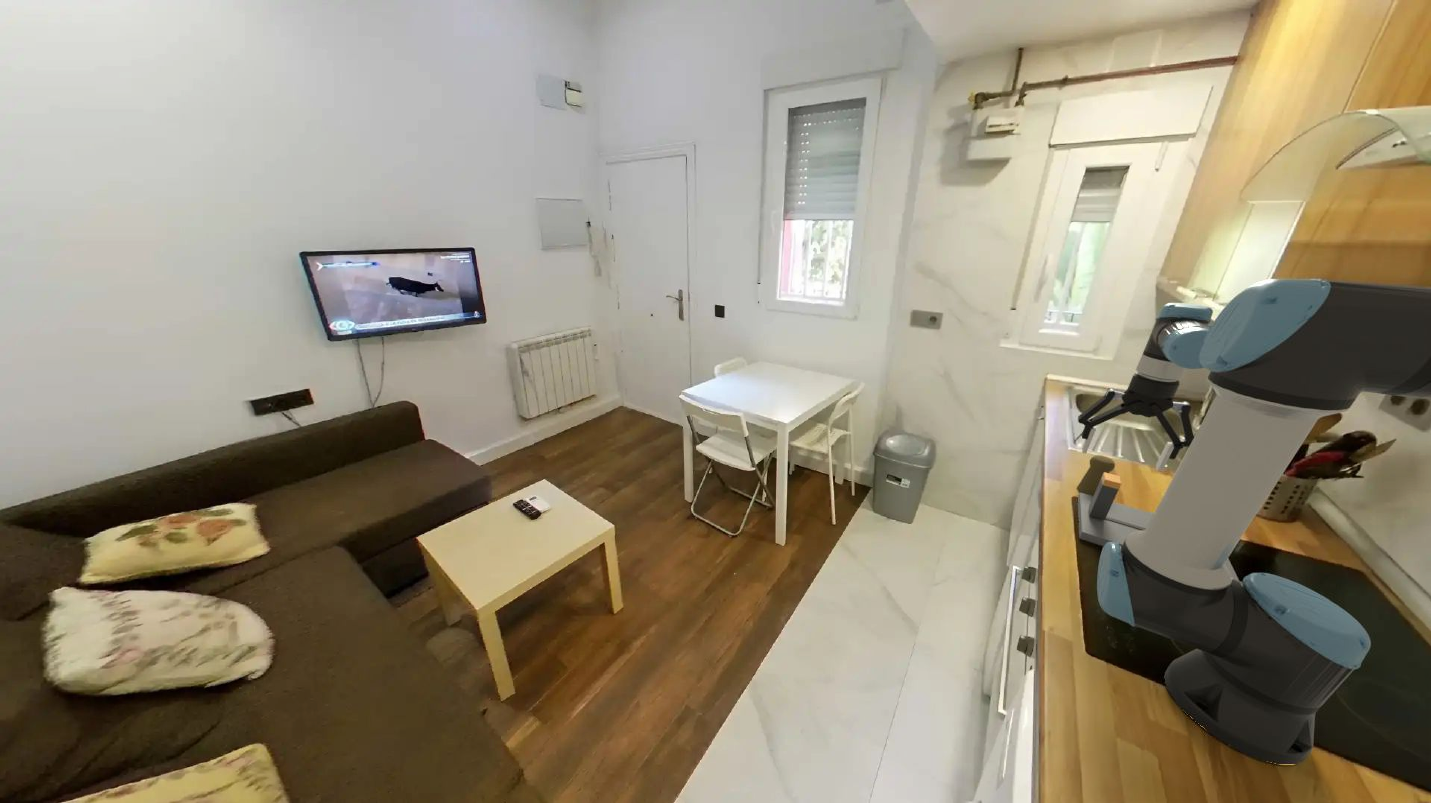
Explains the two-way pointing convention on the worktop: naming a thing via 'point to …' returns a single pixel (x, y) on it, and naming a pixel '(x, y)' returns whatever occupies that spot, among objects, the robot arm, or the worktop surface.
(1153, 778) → the worktop surface
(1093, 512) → the fader tab
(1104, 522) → the console
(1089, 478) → the cork
